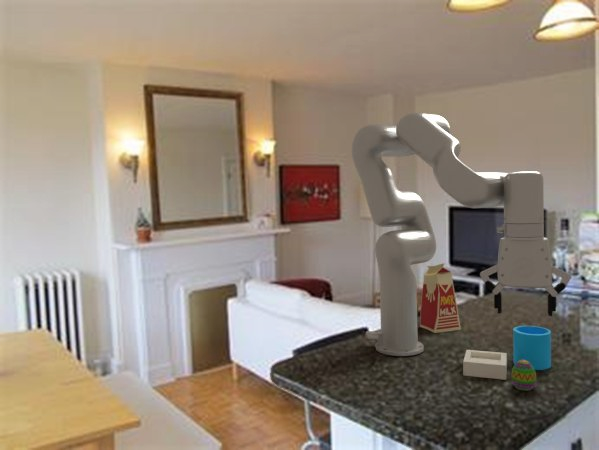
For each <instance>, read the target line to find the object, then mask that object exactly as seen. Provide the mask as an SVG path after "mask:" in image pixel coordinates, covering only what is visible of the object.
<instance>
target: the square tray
mask: <svg viewBox="0 0 599 450" xmlns="http://www.w3.org/2000/svg"><path fill="white" fill-rule="evenodd" d="M507 355H508V353H507V352H501V351H500V352H499V351H497V352H496V351H487V350H486V351H485V350H473V349H466V351H465V354H464V358H463V362H462V364H463V365H462V369H463V370H462V371H463V372H462V375H463V376H467V377H473V378H474V377H477V378H485V379H486V378H487V379H494V380H496V379H497V380H502V381H503V380H505V381H506V380H507V369H508V357H507Z"/></svg>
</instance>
